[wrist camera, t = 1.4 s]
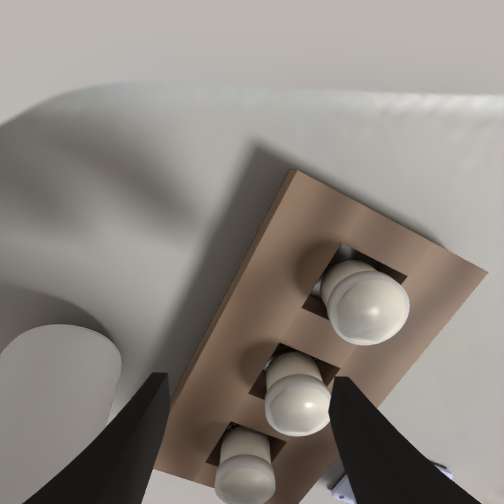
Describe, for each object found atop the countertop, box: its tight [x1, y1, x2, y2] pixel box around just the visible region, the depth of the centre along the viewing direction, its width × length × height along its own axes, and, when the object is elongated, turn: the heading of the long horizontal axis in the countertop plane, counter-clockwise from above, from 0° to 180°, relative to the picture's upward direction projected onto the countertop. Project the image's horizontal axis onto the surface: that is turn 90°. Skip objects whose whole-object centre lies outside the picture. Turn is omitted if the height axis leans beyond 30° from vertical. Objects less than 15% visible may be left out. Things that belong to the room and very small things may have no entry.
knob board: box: [153, 169, 489, 504], centre depth 21 cm, size 14×26×3 cm, turn 154°
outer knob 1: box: [215, 426, 275, 504], centre depth 21 cm, size 4×4×3 cm
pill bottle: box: [0, 324, 122, 504], centre depth 15 cm, size 8×8×15 cm
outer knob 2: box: [320, 260, 410, 345], centre depth 17 cm, size 4×4×3 cm
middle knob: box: [265, 352, 331, 436], centre depth 19 cm, size 4×4×3 cm
